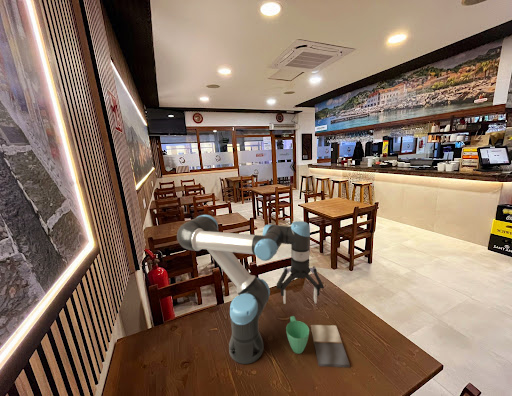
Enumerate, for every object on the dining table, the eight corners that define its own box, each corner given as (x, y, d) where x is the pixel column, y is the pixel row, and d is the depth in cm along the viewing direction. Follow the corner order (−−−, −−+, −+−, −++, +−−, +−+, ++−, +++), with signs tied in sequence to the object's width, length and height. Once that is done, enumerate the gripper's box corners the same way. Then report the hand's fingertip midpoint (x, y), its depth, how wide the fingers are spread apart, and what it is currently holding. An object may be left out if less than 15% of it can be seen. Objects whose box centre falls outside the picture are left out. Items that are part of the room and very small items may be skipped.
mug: (312, 357, 92) (312, 336, 90) (289, 360, 91) (289, 340, 89) (301, 329, 106) (301, 311, 104) (281, 332, 105) (280, 314, 103)
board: (318, 366, 88) (318, 363, 88) (310, 327, 108) (310, 324, 107) (349, 367, 87) (349, 364, 87) (336, 327, 107) (336, 324, 106)
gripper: (271, 262, 91) (272, 307, 95) (332, 261, 90) (330, 307, 94) (270, 254, 98) (271, 296, 103) (327, 253, 97) (325, 295, 102)
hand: (299, 301), depth 98 cm, fingers open, 13 cm apart
